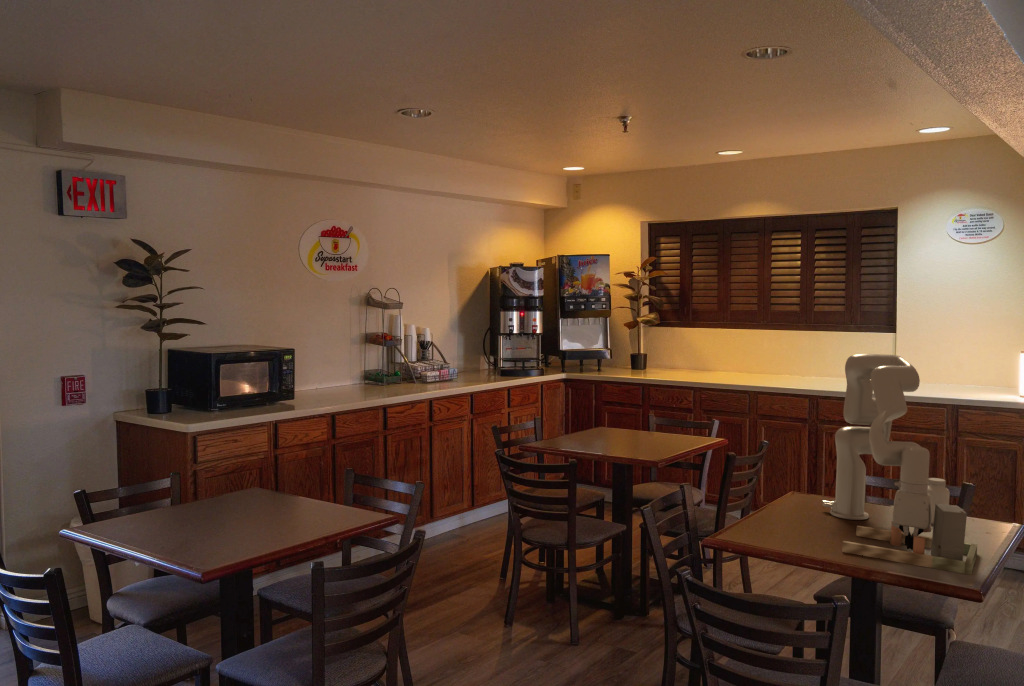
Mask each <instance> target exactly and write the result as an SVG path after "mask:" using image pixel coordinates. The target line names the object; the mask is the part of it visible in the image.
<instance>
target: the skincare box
mask: <svg viewBox="0 0 1024 686" xmlns="http://www.w3.org/2000/svg"><path fill="white" fill-rule="evenodd" d="M967 516H968V513H967V512H966V511H965V510H964V509H963V508H961V507H960V506H958V505H955V504H953V505H952V504H949V505H946V504H935V514H934V524H932V525H933V526H932V546H931V548H930V556H936V557H942V558H948V559H953V560H959V561H964V560H963V559H964V554H963V551H964V543H965V538H966V537H965V536H966V530H967V529H966V528H967V518H968V517H967Z"/></svg>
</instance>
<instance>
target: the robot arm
mask: <svg viewBox="0 0 1024 686" xmlns="http://www.w3.org/2000/svg"><path fill="white" fill-rule="evenodd" d="M844 373H845V378H846V379H845V380H846V390H845V397H844V402H843V403H844V404H843V411H842V413H843V415H842V416H843V419H844V420H845V422H846V423H849V424H851V425H862V426H843V427H840V428H838V429H837V431H836V432H835V434H834V441H835V442H834V443H835V451H836V476H835V477H836V478H835V499H834V500H832V501H829V500H825V499H823V500H822V506H824V507H825V508H831V509H830V513H829V514H831V516H833V517H837V518H839V519H844V520H855V521H862V520H863V521H864V520H868V519H869V518H870V517H869V516H870V515H869V513H868V512H866V511H865V501H866V500H865V499H866V497H865V496H866V478H867V477H866V476H867V466H866V464H865V462H864V461H863V460H862V458H861V456H860V455H872V458H873V459H874V461H875V462H876V464H878V465H880V466H886V467H889V466H890V467H891V466H892V467H900V472H899V474H900V477H899V481H894V487H898V489H897V490H896V492H895V495H894V501H893V508H892V519H891V524H892V526H894V527H896V528H899V529H900V530H901V531H902V533H904V535H905V544H904V546H906V550H911V551H913V541H914V536H918V535H921V534H922V533H931V532H932V531H933V528H932V526H931V525H932V524H931V499H930V494H928V486H929V484H928V479H929V476H930V475H929V471H930V458H931V457H930V451H929V449H927V448H926V447H923V446H921V445H920V444H918V443H916V442H914V441H895V440H890V438H891V432H892V431H891V430H892V425H893V420H896V419H899V418H901V417H903V416H904V415H906V413H908V406H907V402H906V398H905V395H904V393H905V392H906V393H913V392H916V391H917V390H918V389H919V387H920V384H921V381H920V380H921V379H920V375H919V373H918V370H917V369H916V368H915V367H914V365H912V364H911V363H910V362H909V361H908V360H906V359H904V358H903V357H901V355H897V354H881V353H880V354H876V353H857V354H851V355H850V356H849V357H847V359H846V362H845V365H844ZM873 396H874V397H873ZM863 425H864V426H863ZM865 425H867V426H865ZM892 521H893V522H892ZM910 528H913V532H912V533H911V531H910ZM911 534H912V535H911Z"/></svg>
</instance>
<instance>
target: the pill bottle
mask: <svg viewBox="0 0 1024 686" xmlns="http://www.w3.org/2000/svg"><path fill="white" fill-rule="evenodd" d="M946 482H947V480H946V479H943V478H937V477H928V494H930V499H931V525H934V514H935V504H946V505H950V494H951V493H950V489H948V488H947V486H946V485H947V484H946Z"/></svg>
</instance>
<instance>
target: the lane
mask: <svg viewBox="0 0 1024 686" xmlns="http://www.w3.org/2000/svg"><path fill="white" fill-rule="evenodd" d="M855 530H856V531H855V536H856V537H863V538H868V539H872V540H873V539H874V540H880V541H885V542H891V530H887V529H883V528H877V527H870V526H863V525H856V529H855ZM910 534H911V535H912V533H910ZM918 536H920V537H924V538H925V548H928V549H931V546H932V537H931V536H926V535H925V536H924V535H921V534H919V535H918ZM901 544H903V545H905V535H904V533H903V532H902V540H901ZM841 546H842V547H841V548H842V549H841V551H842V553H846V554H853V555H858V556H862V555H863V557H868V558H874V559H875V558H876V559H879V558H880V560H884V561H885V560H886V561H892V562H897V563H902V564H909V565H912V566H913V565H914V566H919V567H925V568H930V569H937V570H940V571H941V570H942V571H947V572H952V573H953V572H954V573H958V574H965V575H970V576H971V575H972V574H973V570H974V567H975V562H976V559H977V555H978V544H975V543H970V542H964V551H963V555H966V559H965V560H963V561H959V560H953V559H948V558H942V557H936V556H931V554H930V555H929V554H925V555H924V554H918V553H913V551H905V550H900V549H895V548H890V547H889V548H887V547H882V546H878V545H877V546H875V545H870V544H865V543H858V542H853V541H852V542H851V541H848V540H843V541H842V545H841Z"/></svg>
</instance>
